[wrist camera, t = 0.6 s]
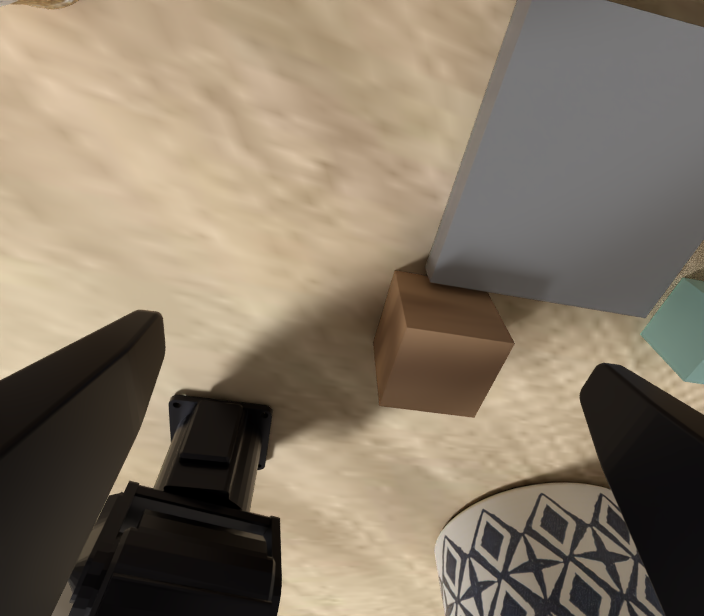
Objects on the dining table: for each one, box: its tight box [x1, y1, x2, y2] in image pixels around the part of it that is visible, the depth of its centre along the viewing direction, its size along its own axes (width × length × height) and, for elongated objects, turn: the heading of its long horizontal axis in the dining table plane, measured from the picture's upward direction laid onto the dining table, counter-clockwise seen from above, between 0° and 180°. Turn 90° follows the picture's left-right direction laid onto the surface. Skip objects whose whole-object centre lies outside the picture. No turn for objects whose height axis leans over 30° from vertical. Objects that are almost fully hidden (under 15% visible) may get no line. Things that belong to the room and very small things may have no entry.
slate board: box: [425, 0, 704, 318], centre depth 19 cm, size 12×12×2 cm
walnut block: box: [373, 270, 515, 418], centre depth 22 cm, size 5×5×5 cm
